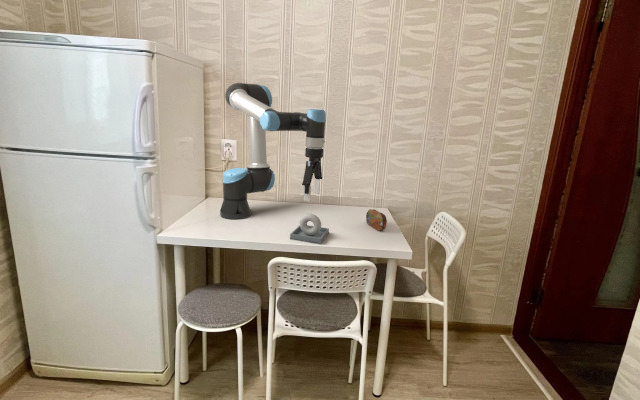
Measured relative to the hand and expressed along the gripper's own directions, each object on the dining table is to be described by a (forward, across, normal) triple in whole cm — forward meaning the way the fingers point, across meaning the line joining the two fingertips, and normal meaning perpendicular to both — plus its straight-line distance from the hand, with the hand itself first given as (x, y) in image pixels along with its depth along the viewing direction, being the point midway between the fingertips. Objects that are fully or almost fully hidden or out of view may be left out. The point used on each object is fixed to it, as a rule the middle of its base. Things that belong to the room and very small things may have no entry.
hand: (311, 197), depth 146 cm
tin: (+18, +24, -26) cm, 40 cm away
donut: (+18, 0, 0) cm, 18 cm away
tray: (+18, 0, 0) cm, 18 cm away
